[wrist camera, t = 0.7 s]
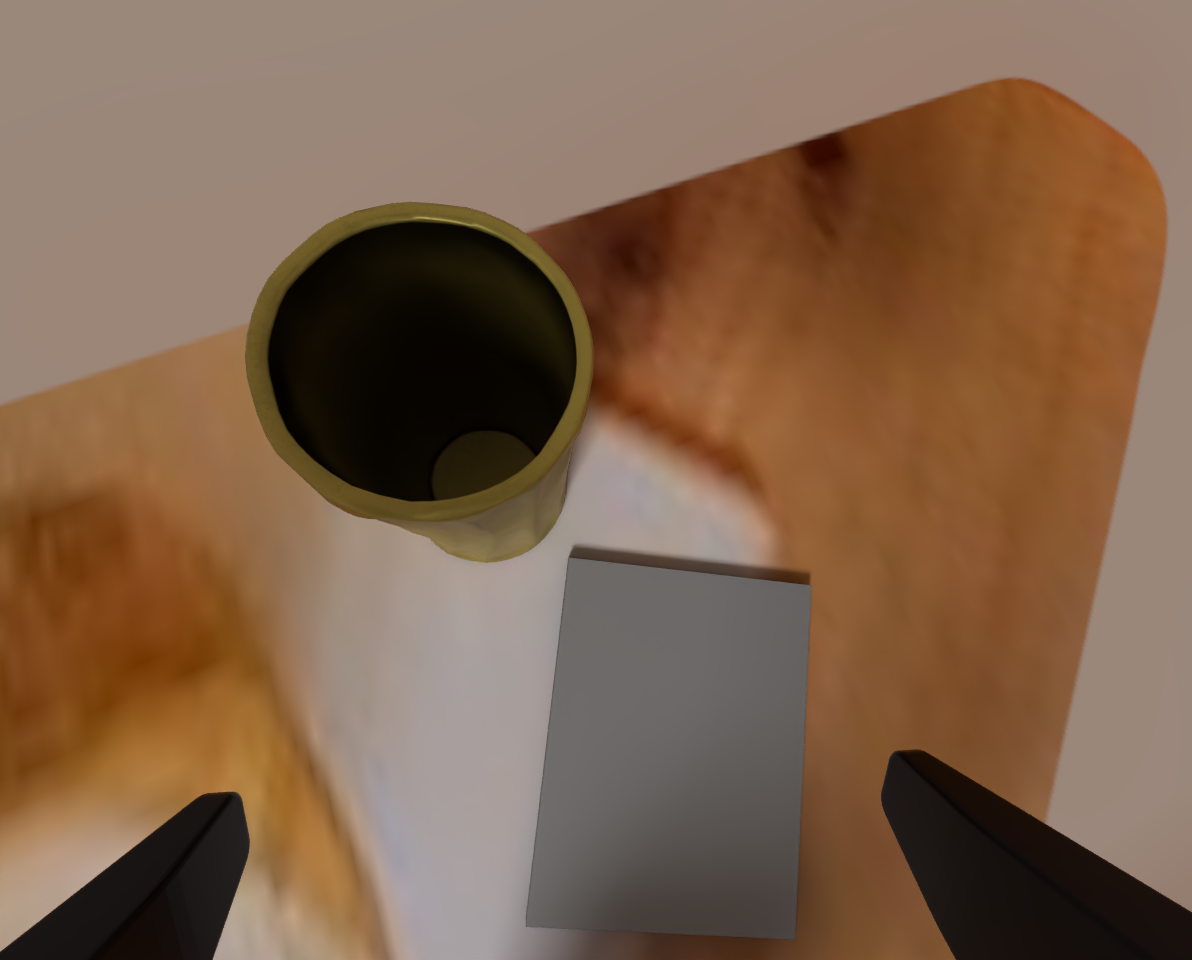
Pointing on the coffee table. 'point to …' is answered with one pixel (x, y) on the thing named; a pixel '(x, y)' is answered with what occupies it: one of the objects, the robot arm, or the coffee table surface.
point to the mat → (673, 755)
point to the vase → (426, 374)
